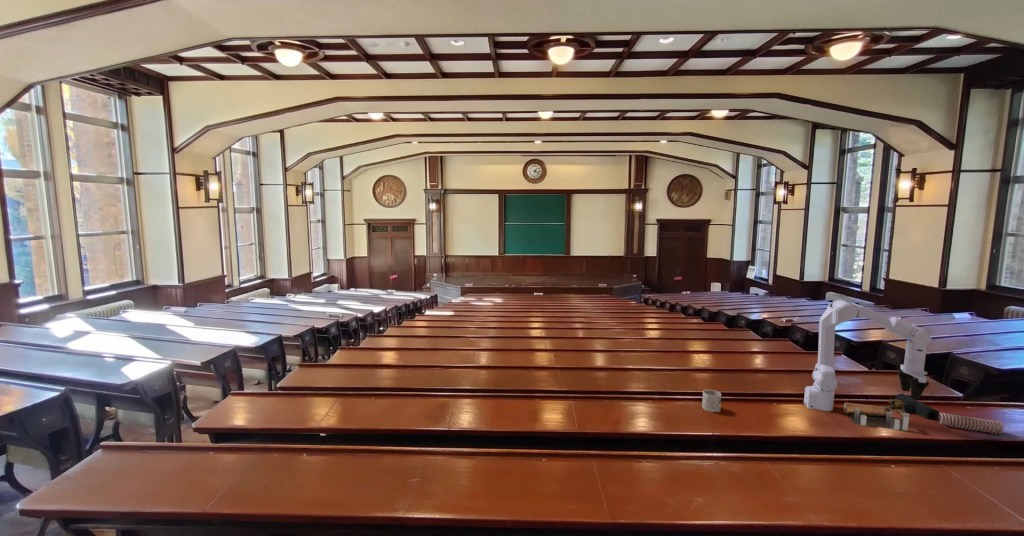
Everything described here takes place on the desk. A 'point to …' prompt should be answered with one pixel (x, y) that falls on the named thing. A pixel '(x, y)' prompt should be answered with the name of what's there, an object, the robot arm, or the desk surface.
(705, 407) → the mug
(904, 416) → the aperture bracket
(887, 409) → the tube
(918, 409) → the pipe connector
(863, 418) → the small blocks
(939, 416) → the coil
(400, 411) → the desk surface
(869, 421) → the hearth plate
